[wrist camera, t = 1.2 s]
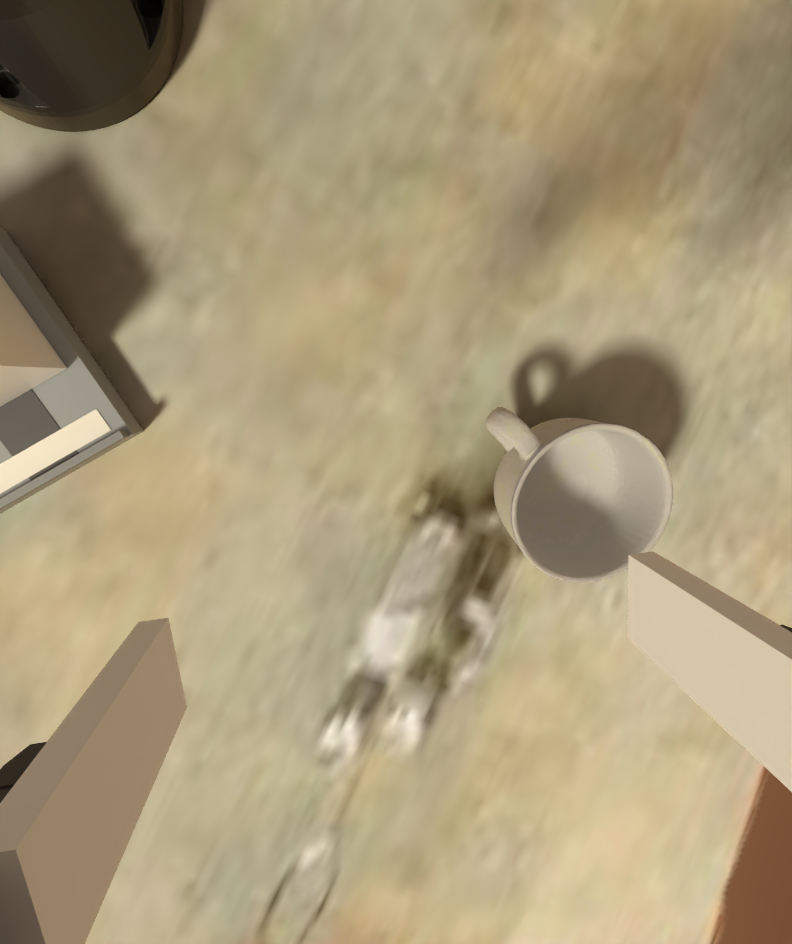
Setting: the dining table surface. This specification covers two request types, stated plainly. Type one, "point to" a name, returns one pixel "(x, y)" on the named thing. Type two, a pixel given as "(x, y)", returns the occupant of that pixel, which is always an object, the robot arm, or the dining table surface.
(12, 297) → the cream square open box
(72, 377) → the panel
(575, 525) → the teacup
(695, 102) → the dining table surface
